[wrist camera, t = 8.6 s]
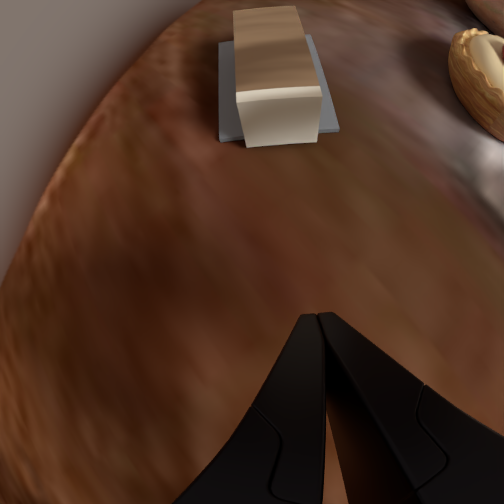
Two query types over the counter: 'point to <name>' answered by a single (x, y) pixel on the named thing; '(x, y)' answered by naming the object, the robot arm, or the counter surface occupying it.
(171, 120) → the counter surface
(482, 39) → the pastry
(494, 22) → the ceramic jug
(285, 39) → the block
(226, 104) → the mat
